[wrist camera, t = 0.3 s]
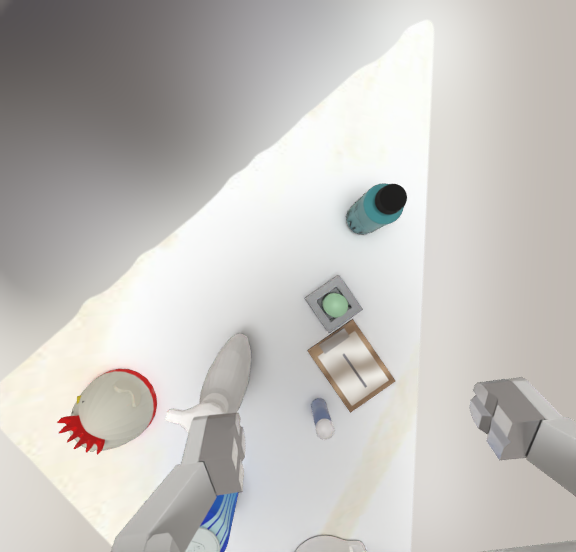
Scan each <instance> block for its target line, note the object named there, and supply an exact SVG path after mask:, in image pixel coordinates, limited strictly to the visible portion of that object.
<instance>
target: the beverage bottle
mask: <svg viewBox="0 0 576 552" xmlns="http://www.w3.org/2000/svg"><path fill="white" fill-rule="evenodd" d="M363 195H364V194H363ZM406 201H407V195H406V192H405V190H404V189H403V188H402V187H401V186H400V185H397V184H378V185H375V186H373V187H372V188H371V189H369V190H368V192H367V193H366V194H365V195H364V196H362V197H361V198H360V199H359V200H357V202H355V204H354V205H353V206H352V207H351V208H350V209H349V211H348V213H347V214H346V215H347V223H348V226H349V227H350V229H351V230H352V231H353V232H355V233H357V234H361V235H362V234H367V233H370V232H371V233H372V231H373V232H374V230H376V229H379V228H380V227H382V226H385V225H387V224H390V223H392V222H394V221H396V220H397V219H398V218H399V217H400V215H401V214H402V211H403V208H404V205H405V204H406Z"/></svg>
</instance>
